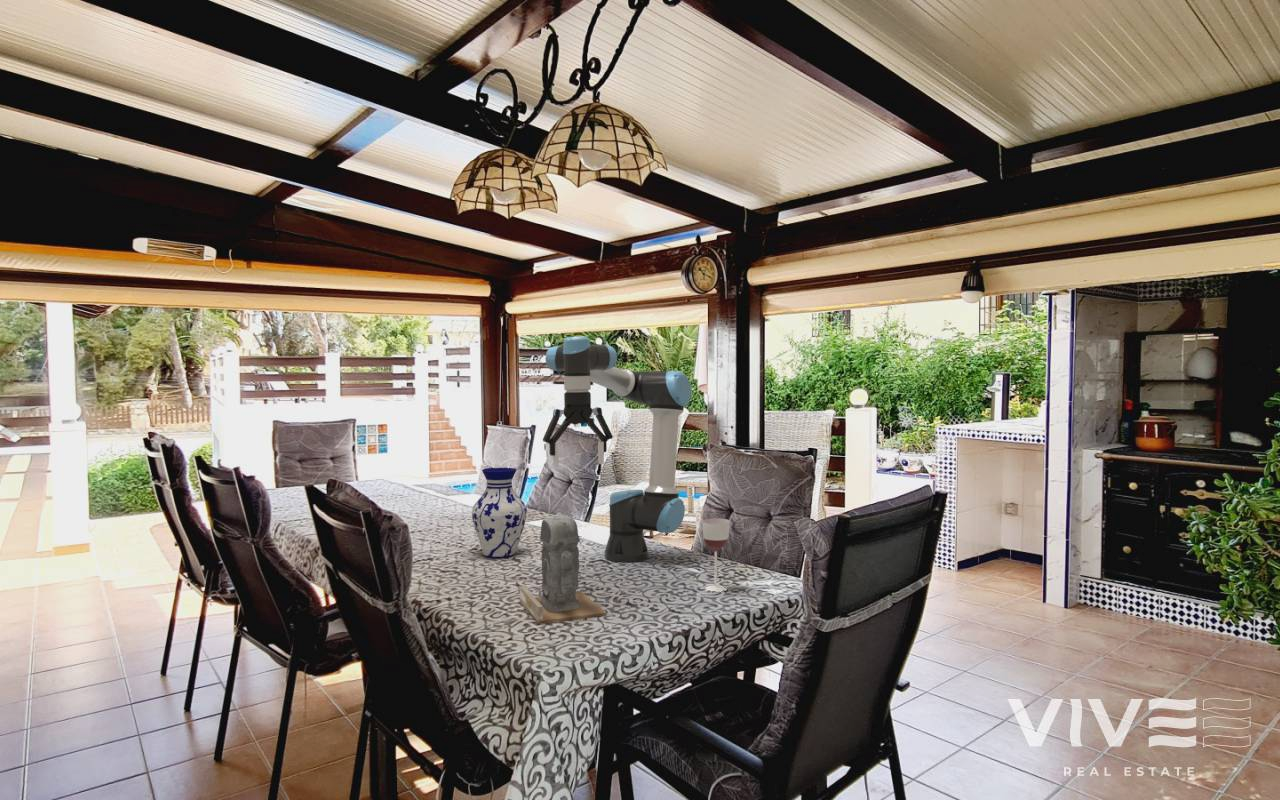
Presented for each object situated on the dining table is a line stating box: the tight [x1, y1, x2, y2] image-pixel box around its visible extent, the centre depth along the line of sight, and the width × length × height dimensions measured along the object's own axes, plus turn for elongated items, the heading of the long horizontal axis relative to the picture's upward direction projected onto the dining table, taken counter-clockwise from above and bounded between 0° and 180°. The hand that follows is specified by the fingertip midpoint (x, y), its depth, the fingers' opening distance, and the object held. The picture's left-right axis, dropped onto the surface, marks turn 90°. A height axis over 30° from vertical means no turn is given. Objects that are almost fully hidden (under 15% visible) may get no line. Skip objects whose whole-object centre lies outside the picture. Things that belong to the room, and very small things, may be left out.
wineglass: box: [701, 517, 730, 593], centre depth 211 cm, size 8×9×20 cm
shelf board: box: [519, 585, 607, 625], centre depth 192 cm, size 18×20×4 cm
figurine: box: [539, 511, 581, 612], centre depth 192 cm, size 10×14×25 cm
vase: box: [471, 467, 528, 559], centre depth 253 cm, size 19×19×30 cm
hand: (578, 465), depth 207 cm, fingers open, 13 cm apart
